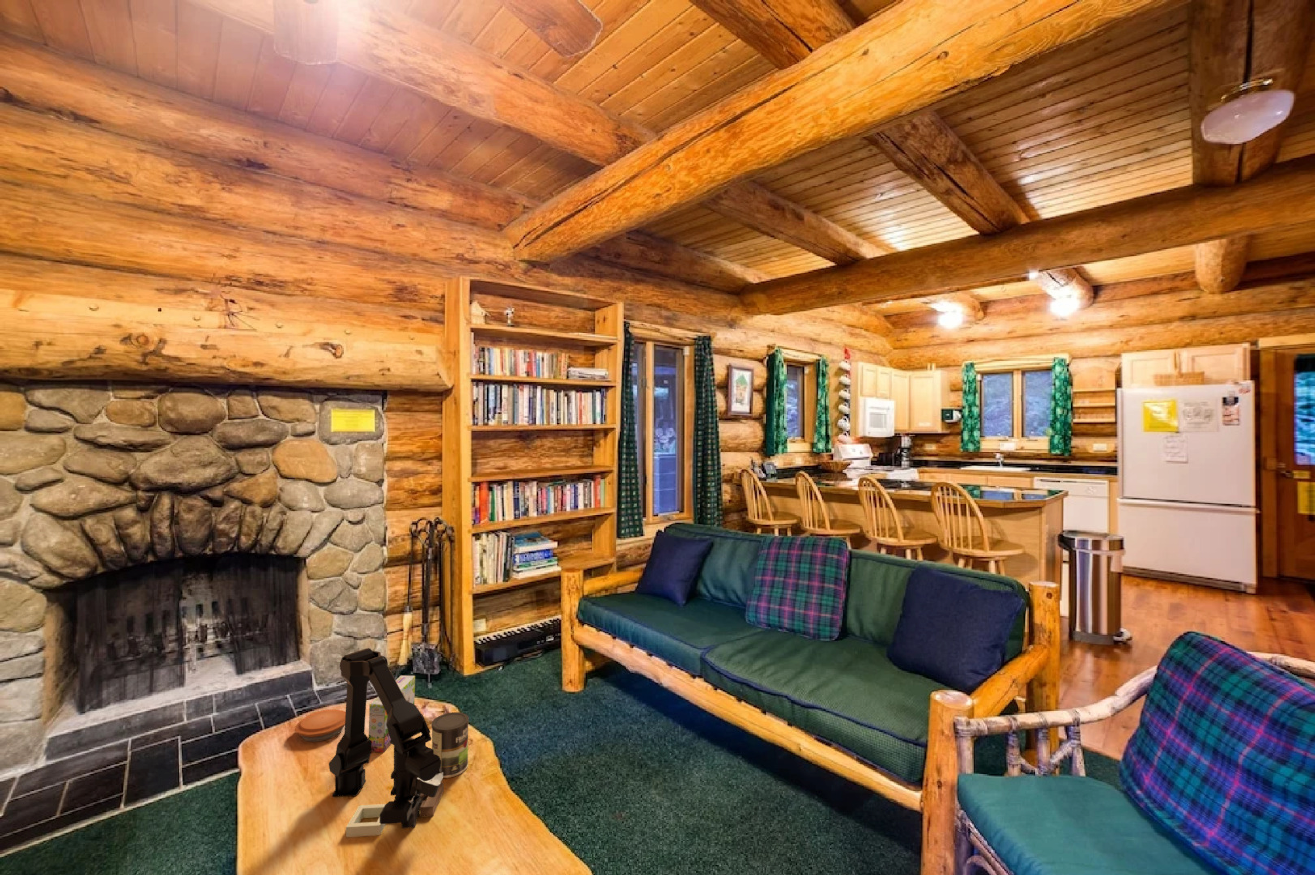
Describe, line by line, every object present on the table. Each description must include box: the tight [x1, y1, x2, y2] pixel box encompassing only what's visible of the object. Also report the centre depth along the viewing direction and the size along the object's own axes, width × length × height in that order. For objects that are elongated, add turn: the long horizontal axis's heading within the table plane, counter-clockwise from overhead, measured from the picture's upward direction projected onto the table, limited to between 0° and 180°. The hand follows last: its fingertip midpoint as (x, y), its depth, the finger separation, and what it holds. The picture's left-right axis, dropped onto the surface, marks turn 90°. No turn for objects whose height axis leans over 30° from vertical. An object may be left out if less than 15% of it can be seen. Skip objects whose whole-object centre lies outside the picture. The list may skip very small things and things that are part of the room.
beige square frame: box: [345, 803, 387, 838], centre depth 144 cm, size 8×8×2 cm
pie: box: [294, 708, 346, 743], centre depth 186 cm, size 15×16×5 cm
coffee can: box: [431, 711, 470, 779], centre depth 168 cm, size 10×10×14 cm
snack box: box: [368, 675, 416, 753], centre depth 186 cm, size 21×6×15 cm, turn 179°
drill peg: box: [417, 794, 427, 807], centre depth 152 cm, size 4×4×8 cm
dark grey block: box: [401, 801, 420, 829], centre depth 146 cm, size 3×5×4 cm, turn 6°
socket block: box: [419, 781, 445, 818], centre depth 152 cm, size 10×10×2 cm
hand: (405, 826), depth 142 cm, fingers closed
